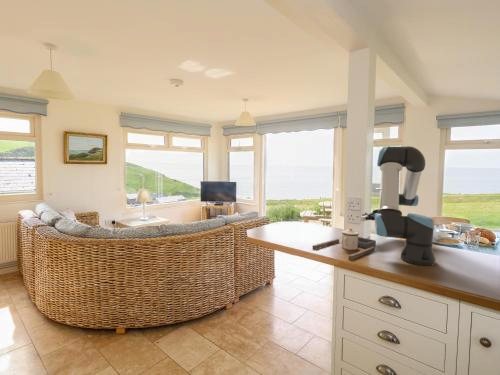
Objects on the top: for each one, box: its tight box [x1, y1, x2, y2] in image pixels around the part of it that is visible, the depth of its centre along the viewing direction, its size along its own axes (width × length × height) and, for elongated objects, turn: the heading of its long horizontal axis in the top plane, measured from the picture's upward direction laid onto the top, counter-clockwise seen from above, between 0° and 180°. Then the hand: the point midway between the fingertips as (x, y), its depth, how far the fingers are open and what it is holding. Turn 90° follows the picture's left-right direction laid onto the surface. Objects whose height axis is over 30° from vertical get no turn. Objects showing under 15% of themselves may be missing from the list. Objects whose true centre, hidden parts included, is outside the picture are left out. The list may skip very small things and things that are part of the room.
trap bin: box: [358, 236, 377, 249], centre depth 171 cm, size 14×11×3 cm
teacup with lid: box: [341, 227, 359, 251], centre depth 162 cm, size 12×9×12 cm
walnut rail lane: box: [312, 238, 376, 261], centre depth 158 cm, size 24×25×2 cm
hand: (361, 218), depth 171 cm, fingers closed
